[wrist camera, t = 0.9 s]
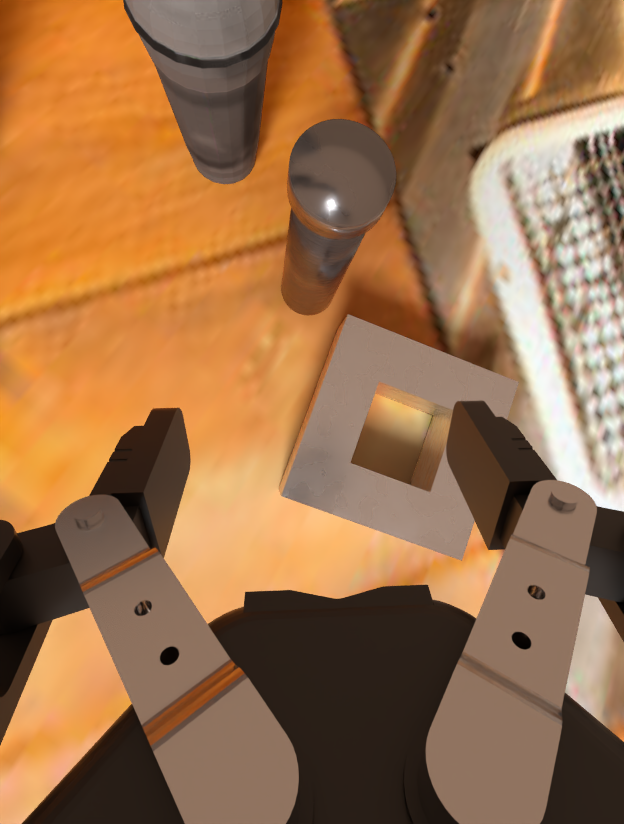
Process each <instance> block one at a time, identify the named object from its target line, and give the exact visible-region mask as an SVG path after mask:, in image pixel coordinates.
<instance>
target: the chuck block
mask: <svg viewBox="0 0 624 824" xmlns="http://www.w3.org/2000/svg"><path fill="white" fill-rule="evenodd" d="M518 383H519V382H517V381H515V380H512V379H510V378H507V377H505V376H502V375H500V374H497V373H495V372H492V371H490V370H487V369H485V368H482V367H480V366H477V365H474V364H472V363H469V362H467V361H464V360H462V359H459V358H457V357H454V356H452V355H449V354H447V353H444V352H442V351H439V350H437V349H434V348H432V347H429V346H427V345H424V344H422V343H419V342H417V341H414V340H412V339H409V338H407V337H404V336H402V335H399V334H397V333H394V332H392V331H389V330H387V329H384V328H382V327H379V326H377V325H374V324H372V323H369V322H367V321H364V320H362V319H359V318H357V317H354V316H352V315H349V314H348V315H347V316H346V318H345V319H344V321H343V322H342V324H341V325H340V327H339V328H338V330H337V332H336V335H335V337H334V340H333V343H332V346H331V348H330V351H329V354H328V356H327V359H326V362H325V365H324V367H323V370H322V373H321V375H320V378H319V381H318V384H317V386H316V389H315V392H314V394H313V397H312V400H311V403H310V405H309V408H308V411H307V413H306V416H305V419H304V421H303V424H302V427H301V430H300V432H299V435H298V438H297V440H296V443H295V446H294V449H293V451H292V454H291V457H290V459H289V462H288V465H287V468H286V470H285V473H284V476H283V478H282V481H281V484H280V487H279V491H280V494H281V496H283V497H286V498H288V499H291V500H294V501H297V502H300V503H302V504H305V505H308V506H311V507H314V508H316V509H319V510H322V511H325V512H328V513H330V514H333V515H336V516H339V517H341V518H344V519H347V520H350V521H353V522H355V523H358V524H361V525H364V526H367V527H369V528H372V529H375V530H378V531H381V532H383V533H386V534H389V535H392V536H394V537H397V538H400V539H403V540H406V541H408V542H411V543H414V544H417V545H420V546H422V547H425V548H428V549H431V550H434V551H436V552H439V553H442V554H445V555H448V556H450V557H453V558H456V559H459V560H461V561H462V558H463V555H464V552H465V549H466V546H467V543H468V540H469V536H470V533H471V530H472V527H473V524H474V521H475V520H474V518H473V516H472V513H471V511H470V509H469V507H468V505H467V503H466V501H465V498H464V496H463V494H462V492H461V490H460V488H459V486H458V483H457V481H456V479H455V477H454V475H453V473H452V471H451V468H450V466H449V464H448V461H447V455H446V444H447V439H448V434H449V428H450V423H451V418H452V413H453V408H454V405H455V403H456V402H457V401H480V400H483V401H485V402H486V404H487V405H488V406H489V408H490V409H491V411H492V412H493V414H494V415H495V416H496V417H503V418H505V419H506V420H507V417H508V414H509V411H510V408H511V405H512V402H513V398H514V395H515V392H516V389H517V386H518ZM375 393H376V394H379V395H381V396H384V397H387V398H389V399H392V400H394V401H397V402H400V403H402V404H405V405H407V406H410V407H413V408H415V409H418V410H420V411H423V412H426V413H428V414H431V415H433V417H432V420H431V423H430V426H429V429H428V432H427V435H426V438H425V441H424V444H423V447H422V450H421V453H420V456H419V459H418V461H417V464H416V467H415V470H414V473H413V476H412V479H411V482H410V485H409V484H406V483H404V482H401V481H398V480H396V479H393V478H390V477H387V476H385V475H382V474H379V473H377V472H374V471H371V470H368V469H366V468H363V467H360V466H358V465H355V464H352V463H350V462H351V459H352V456H353V454H354V451H355V448H356V445H357V442H358V440H359V437H360V434H361V431H362V428H363V425H364V423H365V420H366V417H367V414H368V411H369V408H370V406H371V403H372V400H373V397H374V394H375Z"/></svg>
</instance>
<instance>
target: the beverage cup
mask: <svg viewBox="0 0 624 824" xmlns="http://www.w3.org/2000/svg"><path fill="white" fill-rule="evenodd" d="M123 2H124V9H125V11H126V13H127V15H128V17H129V19H130V21H131V22H132V24H133V26H134V28H135V30H136V32H137V33H138V34H139V36H140V38H141V40H142V42H143V44H144V46H145V47H146V49H147V51H148V53H149V55H150V57H151V59H152V61H153V62H154V64H155V66H156V69H157V71H158V74H159V77H160V79H161V82H162V84H163V87H164V89H165V92H166V95H167V97H168V100H169V102H170V105H171V107H172V110H173V113H174V115H175V118H176V120H177V123H178V125H179V128H180V131H181V133H182V136H183V138H184V141H185V143H186V146H187V148H188V150H189V152H190V154H191V156H192V158H193V161H194V163H195V165H196V167H197V169H198V171H199V172H200V173H201V174H202V175H203V176H204V177H206V178H207V179H209V180H211V181H213V182H216V183H221V184H231V183H236V182H238V181H240V180H243V179H244V178H245V177H246V176H247V175H248V174H250V172H251V170H252V168H253V167H254V164H255V158H256V153H257V147H258V142H259V133H260V124H261V115H262V107H263V98H264V89H265V80H266V72H267V63H268V58H269V56H270V52H271V48H272V44H273V40H274V35H275V30H276V28H277V27H278V25H279V19H280V14H281V8H282V0H123Z"/></svg>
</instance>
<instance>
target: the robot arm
mask: <svg viewBox="0 0 624 824" xmlns="http://www.w3.org/2000/svg"><path fill="white" fill-rule="evenodd" d="M446 455H447V461H448V464H449V466H450V468H451V471H452V473H453V475H454V477H455V479H456V481H457V483H458V486H459V488H460V490H461V492H462V494H463V496H464V498H465V501H466V503H467V505H468V507H469V509H470V511H471V513H472V516H473V518H474V520H475V522H476V524H477V526H478V529H479V531H480V533H481V535H482V537H483V539H484V541H485V544H486V546H487V548H488V550H499V549H505V551H504V554H503V556H502V559H501V561H500V563H499V566H498V568H497V571H496V573H495V575H494V578H493V580H492V583H491V585H490V588H489V590H488V592H487V595H486V597H485V600H484V602H483V604H482V607H481V609H480V612H479V614H478V617H477V619H476V618H475V617H473V616H472V615H470V614H468V613H467V612H465V611H463V610H461V609H459V608H457V607H454V606H452V605H450V604H447V603H443V602H440V601H436V600H432V597H431V594H430V591H429V587H428V585H410V586H385V587H380V588H377V589H373V590H370V591H366V592H363V593H359V594H356V595H352V596H349V597H345V598H341V599H333V598H328V597H323V596H318V595H313V594H307V593H302V592H297V591H292V590H283V591H257V592H245V601H244V607H241V608H238V609H235V610H233V611H230V612H228V613H226V614H224V615H222V616H220V617H218V618H216V619H215V620H213V621H212V622H210V623H209V624H207V623H206V621H205V620H204V618H203V617H202V615H201V614H200V612H199V611H198V609H197V608H196V606H195V605H194V603H193V602H192V600H191V599H190V597H189V596H188V594H187V593H186V591H185V590H184V588H183V587H182V585H181V584H180V582H179V581H178V579H177V578H176V576H175V575H174V573H173V572H172V570H171V569H170V567H169V566H168V564H167V563H166V561H165V560H164V555H165V552H166V549H167V545H168V542H169V538H170V535H171V532H172V528H173V525H174V521H175V518H176V515H177V511H178V508H179V504H180V501H181V498H182V494H183V491H184V487H185V484H186V481H187V477H188V474H189V470H190V449H189V444H188V439H187V434H186V429H185V424H184V419H183V414H182V411H181V409H180V408H155V409H152V410H151V412H150V414H149V416H148V418H147V420H146V422H145V425H144V426H134V427H133V428H132V429H130V430H129V431H128V432H127V433H126V434H124V435H123V436H122V437H121V439H120V440H119V442H118V444H117V446H116V448H115V452H113V453H112V455H111V457H110V459H109V462H107V464H106V466H105V468H104V470H103V472H102V473H101V475H100V477H99V479H98V481H97V483H96V484H95V486H94V488H93V490H92V492H91V494H90V495H89V496H88V497H85V498H82V499H79V500H77V501H75V502H74V503H72V504H70V505H69V506H68V507H66V508H65V509H64V510H63V511H62V512H61V513H60V515H59V516H58V518H57V520H56V523H54V524H51V525H47V526H44V527H40V528H36V529H32V530H28V531H25V532H21V533H16V531H15V529H14V527H13V526H12V525H11V524H10V523H9V522H7V521H4V520H0V745H1V742H2V740H3V737H4V735H5V733H6V730H7V728H8V725H9V723H10V721H11V718H12V716H13V713H14V711H15V709H16V706H17V704H18V701H19V699H20V697H21V694H22V692H23V689H24V687H25V685H26V682H27V680H28V677H29V675H30V673H31V670H32V668H33V666H34V663H35V661H36V658H37V656H38V654H39V651H40V649H41V646H42V644H43V642H44V639H45V637H46V634H47V632H48V630H49V627H50V625H51V622H52V620H53V619H56V618H59V617H62V616H65V615H68V614H72V613H75V612H78V611H81V610H84V609H87V608H90V610H91V612H92V614H93V616H94V619H95V621H96V623H97V625H98V628H99V630H100V632H101V634H102V637H103V639H104V641H105V643H106V646H107V648H108V650H109V653H110V655H111V657H112V659H113V662H114V664H115V666H116V668H117V671H118V673H119V675H120V677H121V680H122V682H123V684H124V686H125V689H126V691H127V693H128V695H129V698H130V700H131V702H132V704H131V705H130V706H129V707H128V708H127V710H126V711H125V712H124V713H123V714H122V715H121V716H120V717H119V718H118V719H117V720H116V722H115V723H114V724H113V725H112V726H111V727H110V728H109V729H108V730H107V731H106V732H105V734H104V735H103V736H102V737H101V738H100V739H99V740H98V741H97V742H96V743H95V744H94V746H93V747H92V748H91V749H90V750H89V751H88V752H87V753H86V754H85V755H84V756H83V758H82V759H81V760H80V761H79V762H78V763H77V764H76V765H75V766H74V767H73V768H72V769H71V771H70V772H69V773H68V774H67V775H66V776H65V777H64V778H63V779H62V780H61V781H60V783H59V784H58V785H57V786H56V787H55V788H54V789H53V790H52V791H51V792H50V793H49V795H48V796H47V797H46V798H45V799H44V800H43V801H42V802H41V803H40V804H39V805H38V807H37V808H36V809H35V810H34V811H33V812H32V813H31V814H30V815H29V816H28V817H27V819H26V820H25V821H24V822H23V823H22V824H624V742H623V741H622V740H621V739H619V738H618V737H617V736H616V735H615V734H613V733H612V732H611V731H610V730H609V729H608V728H606V727H605V726H604V725H603V724H602V723H600V722H599V721H598V720H597V719H596V718H595V717H593V716H592V715H591V714H590V713H589V712H587V711H586V710H585V709H584V708H583V707H582V706H580V705H579V704H578V703H577V702H576V701H574V700H573V699H572V698H571V697H570V696H569V695H567V694H566V693H565V689H566V684H567V679H568V674H569V669H570V665H571V660H572V655H573V650H574V645H575V640H576V635H577V631H578V626H579V621H580V616H581V611H582V606H583V601H584V597H585V594H586V595H590V596H595V597H598V598H599V600H600V602H601V604H602V605H603V607H604V609H605V610H606V612H607V614H608V616H609V617H610V619H611V621H612V622H613V624H614V626H615V628H616V629H617V631H618V633H619V634H620V636H621V638H622V640H623V641H624V512H622V511H617V510H612V509H607V508H602V507H597V506H596V504H595V502H594V501H593V499H592V498H591V497H590V496H589V495H588V494H587V493H586V492H584V491H583V490H581V489H580V488H578V487H576V486H574V485H571V484H569V483H566V482H562V481H557V479H556V478H555V477H554V475H553V474H552V473H551V471H550V470H549V469H548V468H547V466H546V465H545V464H544V462H543V461H542V460H541V458H540V457H539V456H538V454H537V453H536V452H535V450H533V449H532V446H531V445H530V444H529V442H528V441H527V440H525V437H524V436H523V434H522V433H521V432H520V430H519V429H518V428H517V426H515V425H514V424H512V423H511V422H509V421H508V420H506V419H505V418H503V417H496V416H495V415H494V414H493V412H492V411H491V409H490V408H489V406H488V405H487V404H486V402H485V401H483V400H480V401H457V402H456V403H455V405H454V408H453V413H452V418H451V423H450V428H449V434H448V439H447V444H446Z"/></svg>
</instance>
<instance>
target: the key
mask: <svg viewBox="0 0 624 824" xmlns="http://www.w3.org/2000/svg"><path fill="white" fill-rule="evenodd" d="M395 184H396V167H395V162H394V159H393V156H392V154H391V152H390V150H389V148H388V146H387V145H386V143H385V142H384V141H383V140H382V138H381V137H380V136H379V135H378V134H376V133H375V132H374V131H373V130H371V129H370V128H368V127H366V126H365V125H363V124H360V123H358V122H355V121H351V120H345V119H332V120H327V121H323V122H320V123H318V124H315V125H314V126H312V127H310V128H309V129H308V130H306V131H305V132H304V133H303V134H302V135H301V136H300V137H299V139H298V140H297V142H296V143H295V145H294V147H293V149H292V153H291V156H290V161H289V171H288V181H287V193H288V199H289V202H290V205H291V214H290V222H289V230H288V238H287V245H286V253H285V261H284V269H283V277H282V285H281V291H282V296H283V299H284V301H285V302H286V304H287V305H288V306H289V307H290V308H291V309H292V310H293V311H295V312H297V313H299V314H303V315H315V314H318V313H320V312H322V311H324V310H325V309H326V308H327V307H328V306H329V305H330V303H331V301H332V299H333V297H334V295H335V293H336V291H337V289H338V287H339V285H340V283H341V281H342V279H343V277H344V275H345V273H346V271H347V269H348V267H349V265H350V263H351V261H352V259H353V257H354V255H355V253H356V251H357V249H358V247H359V245H360V243H361V241H362V239H363V237H364V234H365V233H366V232H367V231H369V230H370V229H371V228H372V227H373V226H374V225H375V224H376V223H377V222H378V220H379V219H380V217H381V216H382V214H383V212H384V210H385V208H386V206H387V204H388V202H389V200H390V199H391V196H392V194H393V192H394V188H395Z"/></svg>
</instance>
